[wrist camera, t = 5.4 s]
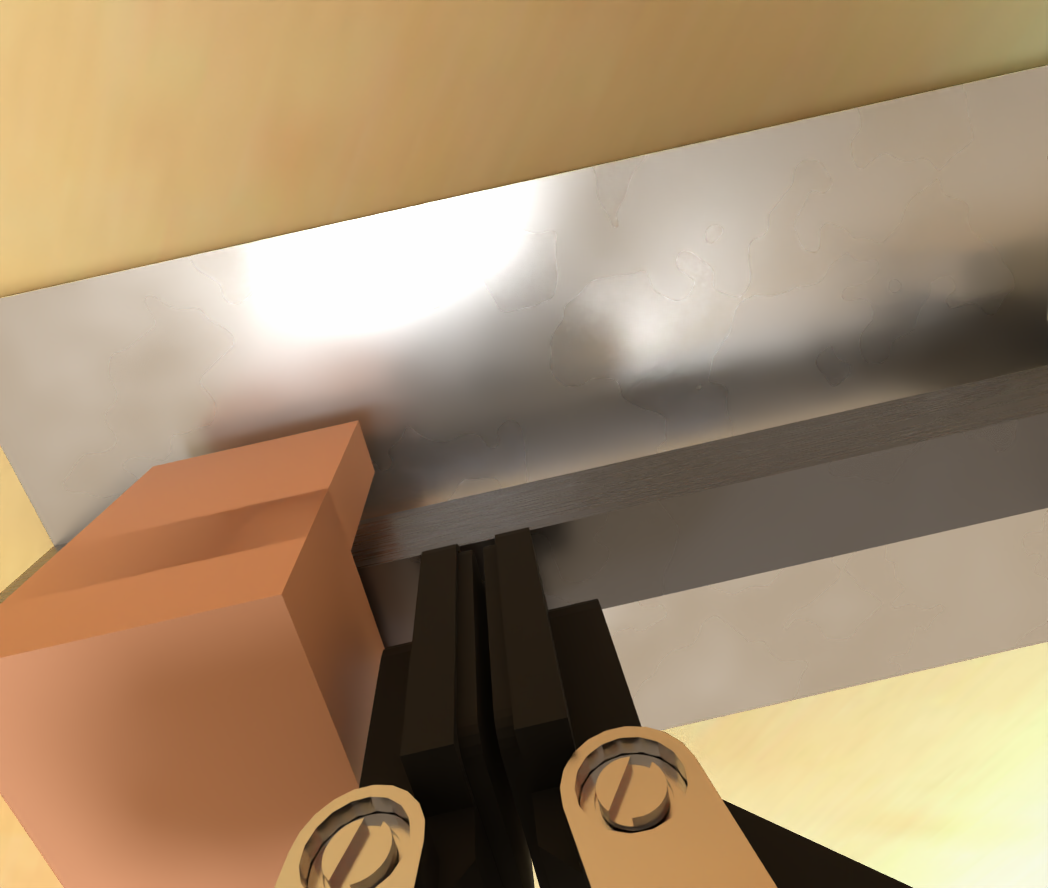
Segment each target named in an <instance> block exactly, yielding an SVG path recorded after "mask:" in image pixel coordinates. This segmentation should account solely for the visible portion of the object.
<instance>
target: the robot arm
mask: <svg viewBox="0 0 1048 888" xmlns="http://www.w3.org/2000/svg"><path fill="white" fill-rule="evenodd" d="M483 556H484V572H485V587H486V593H485V589H484V586H483V582H482V579H481V575H480V571H479V568H478V564H477V560H476V557H475V554H474V551H473V550H469V551H464V552H461V550H460V548H459V545H458V544H453V545H449V546H444V547H440V548H436V549H431V550H427V551H423V552H422V554H421V562H420V571H419V581H418V590H417V600H416V609H415V619H414V628H413V637H412V642H408V643H403V644H399V645H395V646H390V647H386V648H385V649H384V650H383V652H382V656H381V660H380V666H379V672H378V678H377V684H376V690H375V696H374V702H373V708H372V714H371V720H370V725H369V731H368V737H367V743H366V749H365V755H364V761H363V767H362V773H361V779H360V785H359V789H354V790H352V791H350V792H348V793H346V794H344V795H342V796H340V797H338V798H336V799H334V800H333V801H332V802H330V803H329V804H328V805H326V806H325V807H324V808H322V809H321V810H320V811H319V812H317V813H316V814H315V815H314V816H313V817H312V818H311V820H310V821H309V822H308V823H307V824H306V825H305V826H304V828H303V829H302V830H301V831H300V832H299V834H298V836H297V838H296V840H295V841H294V843H293V845H292V847H291V849H290V851H289V852H288V855H287V857H286V860H285V862H284V865H283V867H282V870H281V872H280V875H279V877H278V880H277V882H276V885H275V887H274V888H534V878H533V869H532V862H533V865H534V869H535V872H536V876H537V879H538V882H539V886H540V888H913V887H910V886H908V885H906V884H904V883H902V882H900V881H897V880H895V879H893V878H891V877H889V876H887V875H884V874H882V873H880V872H878V871H876V870H874V869H871V868H869V867H867V866H865V865H863V864H861V863H859V862H856V861H854V860H852V859H850V858H848V857H846V856H843V855H841V854H839V853H837V852H835V851H833V850H830V849H828V848H826V847H824V846H822V845H820V844H817V843H815V842H813V841H811V840H809V839H807V838H804V837H802V836H800V835H798V834H796V833H794V832H792V831H789V830H787V829H785V828H783V827H781V826H779V825H776V824H774V823H772V822H770V821H768V820H766V819H763V818H761V817H759V816H757V815H755V814H753V813H750V812H748V811H746V810H744V809H742V808H740V807H738V806H735V805H733V804H731V803H729V802H727V801H725V800H722V799H721V797H720V795H719V794H718V792H717V791H716V789H715V787H714V786H713V784H712V783H711V781H710V779H709V778H708V776H707V775H706V773H705V772H704V770H703V768H702V767H701V765H700V764H699V762H698V760H697V759H696V757H695V756H694V755H693V754H692V753H691V751H690V750H689V749H688V748H687V747H686V746H685V745H684V744H683V742H681V741H679V740H678V739H676V738H674V737H673V736H671V735H669V734H668V733H666V732H663V731H660V730H656V729H652V728H649V727H642V726H641V723H640V720H639V717H638V714H637V712H636V709H635V706H634V703H633V700H632V697H631V694H630V691H629V688H628V685H627V682H626V679H625V676H624V673H623V670H622V667H621V664H620V661H619V658H618V655H617V652H616V649H615V646H614V644H613V641H612V638H611V635H610V632H609V629H608V626H607V623H606V620H605V617H604V614H603V611H602V608H601V605H600V603H599V600H598V599H593V600H589V601H585V602H580V603H576V604H572V605H567V606H563V607H559V608H554V609H550V610H548V605H547V601H546V597H545V593H544V588H543V584H542V580H541V576H540V571H539V567H538V563H537V559H536V554H535V550H534V546H533V541H532V537H531V533H530V529H529V527H527V528H523V529H518V530H514V531H509V532H505V533H501V534H496V535H495V545H490V546H486V547H483ZM531 859H532V860H531Z"/></svg>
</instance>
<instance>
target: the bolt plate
mask: <svg viewBox="0 0 1048 888" xmlns="http://www.w3.org/2000/svg"><path fill="white" fill-rule="evenodd" d="M1047 313H1048V65H1045V66H1040V67H1036V68H1031V69H1027V70H1022V71H1018V72H1013V73H1009V74H1004V75H1000V76H995V77H991V78H986V79H982V80H977V81H973V82H968V83H964V84H959V85H955V86H950V87H946V88H941V89H937V90H932V91H928V92H923V93H919V94H914V95H910V96H905V97H901V98H896V99H892V100H887V101H883V102H878V103H874V104H869V105H865V106H860V107H856V108H851V109H847V110H842V111H838V112H833V113H829V114H824V115H820V116H815V117H811V118H806V119H802V120H797V121H793V122H788V123H784V124H779V125H775V126H770V127H766V128H761V129H757V130H752V131H748V132H743V133H739V134H734V135H730V136H725V137H721V138H716V139H712V140H707V141H703V142H698V143H694V144H689V145H685V146H680V147H676V148H671V149H667V150H662V151H658V152H653V153H649V154H644V155H640V156H635V157H631V158H626V159H622V160H617V161H613V162H608V163H604V164H599V165H595V166H590V167H586V168H581V169H577V170H572V171H568V172H563V173H559V174H554V175H550V176H545V177H541V178H536V179H532V180H528V181H523V182H519V183H514V184H510V185H505V186H501V187H496V188H492V189H487V190H483V191H478V192H474V193H469V194H465V195H460V196H456V197H451V198H447V199H442V200H438V201H433V202H429V203H424V204H420V205H415V206H411V207H406V208H402V209H397V210H393V211H388V212H384V213H379V214H375V215H370V216H366V217H361V218H357V219H352V220H348V221H343V222H339V223H334V224H330V225H325V226H321V227H316V228H312V229H307V230H303V231H298V232H294V233H289V234H285V235H280V236H276V237H271V238H267V239H262V240H258V241H253V242H249V243H244V244H240V245H235V246H231V247H226V248H222V249H217V250H213V251H208V252H204V253H199V254H195V255H190V256H186V257H181V258H177V259H172V260H168V261H163V262H159V263H154V264H150V265H145V266H141V267H136V268H132V269H127V270H123V271H118V272H114V273H109V274H105V275H100V276H96V277H91V278H87V279H82V280H78V281H73V282H69V283H64V284H60V285H55V286H51V287H46V288H42V289H37V290H33V291H28V292H24V293H19V294H15V295H10V296H6V297H1V298H0V446H1V447H2V449H3V451H4V453H5V455H6V457H7V459H8V461H9V462H10V464H11V466H12V468H13V470H14V472H15V474H16V475H17V477H18V479H19V481H20V483H21V485H22V487H23V489H24V490H25V492H26V494H27V496H28V498H29V500H30V502H31V503H32V505H33V507H34V509H35V511H36V513H37V515H38V517H39V518H40V520H41V522H42V524H43V526H44V528H45V530H46V531H47V533H48V535H49V537H50V539H51V541H52V543H53V545H54V546H56V545H61V544H65V543H69V542H70V541H71V540H72V539H73V538H74V537H75V536H76V535H78V534H79V533H80V532H81V531H82V530H83V529H84V528H85V527H86V526H88V525H89V524H90V523H91V522H92V521H93V520H94V519H95V518H96V517H98V516H99V515H100V514H101V513H102V512H103V511H104V510H105V509H106V508H108V507H109V506H110V505H111V504H112V503H113V502H114V501H115V500H116V499H118V498H119V497H120V496H121V495H122V494H123V493H124V492H125V491H126V490H128V489H129V488H130V487H131V486H132V485H133V484H134V483H135V482H136V481H137V480H139V479H140V478H141V477H142V476H143V475H144V474H145V473H146V472H147V471H149V470H150V469H151V468H152V467H153V466H157V465H162V464H166V463H171V462H175V461H179V460H184V459H188V458H193V457H197V456H202V455H206V454H211V453H215V452H219V451H224V450H228V449H233V448H237V447H242V446H246V445H251V444H255V443H260V442H264V441H268V440H273V439H277V438H282V437H286V436H291V435H295V434H300V433H304V432H308V431H313V430H317V429H322V428H326V427H331V426H335V425H340V424H344V423H349V422H353V421H357V420H359V423H360V426H361V430H362V433H363V436H364V439H365V442H366V445H367V449H368V452H369V455H370V458H371V461H372V464H373V468H374V471H375V473H374V476H373V479H372V483H371V486H370V489H369V493H368V496H367V499H366V502H365V506H364V509H363V512H362V516H361V519H360V521H361V520H365V519H369V518H374V517H378V516H383V515H387V514H392V513H396V512H400V511H405V510H409V509H414V508H418V507H423V506H427V505H431V504H436V503H440V502H445V501H449V500H453V499H458V498H462V497H467V496H471V495H476V494H480V493H484V492H489V491H493V490H498V489H502V488H507V487H511V486H515V485H520V484H524V483H529V482H533V481H538V480H542V479H546V478H551V477H555V476H560V475H564V474H569V473H573V472H577V471H582V470H586V469H591V468H595V467H600V466H604V465H608V464H613V463H617V462H622V461H626V460H630V459H635V458H639V457H644V456H648V455H653V454H657V453H661V452H666V451H670V450H675V449H679V448H684V447H688V446H692V445H697V444H701V443H706V442H710V441H715V440H719V439H723V438H728V437H732V436H737V435H741V434H746V433H750V432H754V431H759V430H763V429H768V428H772V427H777V426H781V425H785V424H790V423H794V422H799V421H803V420H807V419H812V418H816V417H821V416H825V415H830V414H834V413H838V412H843V411H847V410H852V409H856V408H861V407H865V406H869V405H874V404H878V403H883V402H887V401H892V400H896V399H900V398H905V397H909V396H914V395H918V394H923V393H927V392H931V391H936V390H940V389H945V388H949V387H954V386H958V385H962V384H967V383H971V382H976V381H980V380H984V379H989V378H993V377H998V376H1002V375H1007V374H1011V373H1015V372H1020V371H1024V370H1029V369H1033V368H1038V367H1042V366H1046V365H1048V320H1047ZM602 611H603V614H604V617H605V620H606V623H607V626H608V629H609V632H610V635H611V638H612V641H613V644H614V646H615V649H616V652H617V655H618V658H619V661H620V664H621V667H622V670H623V673H624V676H625V679H626V682H627V685H628V688H629V691H630V694H631V697H632V700H633V703H634V706H635V709H636V712H637V714H638V717H639V720H640V723H641V726H642V727H649V728H652V729H656V730H664V729H669V728H673V727H677V726H682V725H686V724H691V723H695V722H699V721H704V720H708V719H712V718H717V717H721V716H725V715H730V714H734V713H738V712H743V711H747V710H752V709H756V708H760V707H765V706H769V705H773V704H778V703H782V702H786V701H791V700H795V699H800V698H804V697H808V696H813V695H817V694H821V693H826V692H830V691H834V690H839V689H843V688H847V687H852V686H856V685H861V684H865V683H869V682H874V681H878V680H882V679H887V678H891V677H895V676H900V675H904V674H909V673H913V672H917V671H922V670H926V669H930V668H935V667H939V666H943V665H948V664H952V663H957V662H961V661H965V660H970V659H974V658H978V657H983V656H987V655H991V654H996V653H1000V652H1004V651H1009V650H1013V649H1018V648H1022V647H1026V646H1031V645H1035V644H1039V643H1044V642H1048V508H1045V509H1041V510H1036V511H1032V512H1028V513H1023V514H1019V515H1014V516H1010V517H1006V518H1001V519H997V520H992V521H988V522H984V523H979V524H975V525H970V526H966V527H962V528H957V529H953V530H949V531H944V532H940V533H935V534H931V535H927V536H922V537H918V538H913V539H909V540H905V541H900V542H896V543H891V544H887V545H883V546H878V547H874V548H869V549H865V550H861V551H856V552H852V553H848V554H843V555H839V556H834V557H830V558H826V559H821V560H817V561H812V562H808V563H804V564H799V565H795V566H790V567H786V568H782V569H777V570H773V571H768V572H764V573H760V574H755V575H751V576H747V577H742V578H738V579H733V580H729V581H725V582H720V583H716V584H711V585H707V586H703V587H698V588H694V589H689V590H685V591H681V592H676V593H672V594H667V595H663V596H659V597H654V598H650V599H646V600H641V601H637V602H632V603H628V604H624V605H619V606H615V607H610V608H606V609H602Z"/></svg>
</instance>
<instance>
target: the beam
mask: <svg viewBox="0 0 1048 888" xmlns="http://www.w3.org/2000/svg"><path fill="white" fill-rule="evenodd" d="M1045 508H1048V365H1046V366H1042V367H1038V368H1033V369H1029V370H1024V371H1020V372H1015V373H1011V374H1007V375H1002V376H998V377H993V378H989V379H984V380H980V381H976V382H971V383H967V384H962V385H958V386H954V387H949V388H945V389H940V390H936V391H931V392H927V393H923V394H918V395H914V396H909V397H905V398H900V399H896V400H892V401H887V402H883V403H878V404H874V405H869V406H865V407H861V408H856V409H852V410H847V411H843V412H838V413H834V414H830V415H825V416H821V417H816V418H812V419H807V420H803V421H799V422H794V423H790V424H785V425H781V426H777V427H772V428H768V429H763V430H759V431H754V432H750V433H746V434H741V435H737V436H732V437H728V438H723V439H719V440H715V441H710V442H706V443H701V444H697V445H692V446H688V447H684V448H679V449H675V450H670V451H666V452H661V453H657V454H653V455H648V456H644V457H639V458H635V459H630V460H626V461H622V462H617V463H613V464H608V465H604V466H600V467H595V468H591V469H586V470H582V471H577V472H573V473H569V474H564V475H560V476H555V477H551V478H546V479H542V480H538V481H533V482H529V483H524V484H520V485H515V486H511V487H507V488H502V489H498V490H493V491H489V492H484V493H480V494H476V495H471V496H467V497H462V498H458V499H453V500H449V501H445V502H440V503H436V504H431V505H427V506H423V507H418V508H414V509H409V510H405V511H400V512H396V513H392V514H387V515H383V516H378V517H374V518H369V519H365V520H361V521H360V522H359V525H358V529H357V532H356V535H355V539H354V542H353V545H352V548H351V553H352V556H353V559H354V562H355V565H356V568H357V570H358V573H359V576H360V579H361V582H362V585H363V588H364V591H365V593H366V596H367V599H368V602H369V605H370V608H371V611H372V613H373V616H374V619H375V622H376V625H377V628H378V631H379V634H380V636H381V639H382V642H383V645H384V648H386V647H390V646H395V645H399V644H403V643H408V642H412V637H413V628H414V619H415V609H416V600H417V590H418V581H419V571H420V562H421V554H422V552H423V551H427V550H431V549H436V548H440V547H444V546H449V545H453V544H458V545H459V548H460V550H461V552H464V551H469V550H473V551H474V554H475V557H476V560H477V564H478V568H479V571H480V575H481V579H482V582H483V586H484V589H485V593H486V587H485V572H484V556H483V547H486V546H490V545H495V535H496V534H501V533H505V532H509V531H514V530H518V529H523V528H527V527H529V529H530V533H531V537H532V541H533V546H534V550H535V554H536V559H537V563H538V567H539V571H540V576H541V580H542V584H543V588H544V593H545V597H546V601H547V605H548V610H550V609H554V608H559V607H563V606H567V605H572V604H576V603H580V602H585V601H589V600H593V599H598V600H599V603H600V605H601V608H602V609H606V608H610V607H615V606H619V605H624V604H628V603H632V602H637V601H641V600H646V599H650V598H654V597H659V596H663V595H667V594H672V593H676V592H681V591H685V590H689V589H694V588H698V587H703V586H707V585H711V584H716V583H720V582H725V581H729V580H733V579H738V578H742V577H747V576H751V575H755V574H760V573H764V572H768V571H773V570H777V569H782V568H786V567H790V566H795V565H799V564H804V563H808V562H812V561H817V560H821V559H826V558H830V557H834V556H839V555H843V554H848V553H852V552H856V551H861V550H865V549H869V548H874V547H878V546H883V545H887V544H891V543H896V542H900V541H905V540H909V539H913V538H918V537H922V536H927V535H931V534H935V533H940V532H944V531H949V530H953V529H957V528H962V527H966V526H970V525H975V524H979V523H984V522H988V521H992V520H997V519H1001V518H1006V517H1010V516H1014V515H1019V514H1023V513H1028V512H1032V511H1036V510H1041V509H1045ZM66 544H68V543H65V544H61V545H56V546H54V547H52V548H51V549H50V550H49V551H48V552H47V553H46V554H44V555H43V556H42V557H41V558H40V559H39V560H38V561H36V562H35V563H34V564H33V565H32V566H31V567H30V568H29V569H27V570H26V571H25V572H24V573H23V574H22V575H21V576H19V577H18V578H17V579H16V580H15V581H14V582H13V583H11V584H10V585H9V586H8V587H7V588H6V589H5V590H3V591H2V592H1V593H0V604H1V603H2V602H3V601H4V600H5V599H7V598H8V597H9V596H10V595H11V594H12V593H13V592H14V591H15V590H17V589H18V588H19V587H20V586H21V585H22V584H23V583H24V582H25V581H27V580H28V579H29V578H30V577H31V576H32V575H33V574H34V573H35V572H37V571H38V570H39V569H40V568H41V567H42V566H43V565H44V564H45V563H47V562H48V561H49V560H50V559H51V558H52V557H53V556H54V555H55V554H56V553H58V552H59V551H60V550H61V549H62V548H63V547H64V546H65V545H66Z"/></svg>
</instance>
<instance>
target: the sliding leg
mask: <svg viewBox="0 0 1048 888" xmlns="http://www.w3.org/2000/svg"><path fill="white" fill-rule="evenodd" d="M374 473H375V471H374V468H373V464H372V461H371V458H370V455H369V452H368V449H367V445H366V442H365V439H364V436H363V433H362V430H361V426H360V423H359V420H357V421H353V422H349V423H344V424H340V425H335V426H331V427H326V428H322V429H317V430H313V431H308V432H304V433H300V434H295V435H291V436H286V437H282V438H277V439H273V440H268V441H264V442H260V443H255V444H251V445H246V446H242V447H237V448H233V449H228V450H224V451H219V452H215V453H211V454H206V455H202V456H197V457H193V458H188V459H184V460H179V461H175V462H171V463H166V464H162V465H157V466H153V467H152V468H151V469H150V470H149V471H147V472H146V473H145V474H144V475H143V476H142V477H141V478H140V479H139V480H137V481H136V482H135V483H134V484H133V485H132V486H131V487H130V488H129V489H128V490H126V491H125V492H124V493H123V494H122V495H121V496H120V497H119V498H118V499H116V500H115V501H114V502H113V503H112V504H111V505H110V506H109V507H108V508H106V509H105V510H104V511H103V512H102V513H101V514H100V515H99V516H98V517H96V518H95V519H94V520H93V521H92V522H91V523H90V524H89V525H88V526H86V527H85V528H84V529H83V530H82V531H81V532H80V533H79V534H78V535H76V536H75V537H74V538H73V539H72V540H71V541H70V542H69V543H68V544H66V545H65V546H64V547H63V548H62V549H61V550H60V551H59V552H58V553H56V554H55V555H54V556H53V557H52V558H51V559H50V560H49V561H48V562H47V563H45V564H44V565H43V566H42V567H41V568H40V569H39V570H38V571H37V572H35V573H34V574H33V575H32V576H31V577H30V578H29V579H28V580H27V581H25V582H24V583H23V584H22V585H21V586H20V587H19V588H18V589H17V590H15V591H14V592H13V593H12V594H11V595H10V596H9V597H8V598H7V599H5V600H4V601H3V602H2V603H1V604H0V794H1V795H2V797H3V798H4V800H5V801H6V803H7V804H8V806H9V807H10V809H11V810H12V812H13V813H14V815H15V816H16V818H17V819H18V821H19V822H20V824H21V825H22V827H23V828H24V829H25V831H26V832H27V834H28V835H29V837H30V838H31V840H32V841H33V843H34V844H35V846H36V847H37V849H38V850H39V852H40V853H41V855H42V856H43V858H44V859H45V860H46V862H47V863H48V865H49V866H50V868H51V869H52V871H53V872H54V874H55V875H56V877H57V878H58V880H59V881H60V883H61V884H62V886H63V887H64V888H274V887H275V885H276V882H277V880H278V877H279V875H280V872H281V870H282V867H283V865H284V862H285V860H286V857H287V855H288V852H289V851H290V849H291V847H292V845H293V843H294V841H295V840H296V838H297V836H298V834H299V832H300V831H301V830H302V829H303V828H304V826H305V825H306V824H307V823H308V822H309V821H310V820H311V818H312V817H313V816H314V815H315V814H316V813H317V812H319V811H320V810H321V809H322V808H324V807H325V806H326V805H328V804H329V803H330V802H332V801H333V800H334V799H336V798H338V797H340V796H342V795H344V794H346V793H348V792H350V791H352V790H354V789H359V785H360V779H361V773H362V767H363V761H364V755H365V749H366V743H367V737H368V731H369V725H370V720H371V714H372V708H373V702H374V696H375V690H376V684H377V678H378V672H379V666H380V660H381V656H382V652H383V650H384V649H385V648H384V645H383V642H382V639H381V636H380V634H379V631H378V628H377V625H376V622H375V619H374V616H373V613H372V611H371V608H370V605H369V602H368V599H367V596H366V593H365V591H364V588H363V585H362V582H361V579H360V576H359V573H358V570H357V568H356V565H355V562H354V559H353V556H352V553H351V548H352V545H353V542H354V539H355V535H356V532H357V529H358V525H359V522H360V519H361V516H362V512H363V509H364V506H365V502H366V499H367V496H368V493H369V489H370V486H371V483H372V479H373V476H374Z"/></svg>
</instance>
